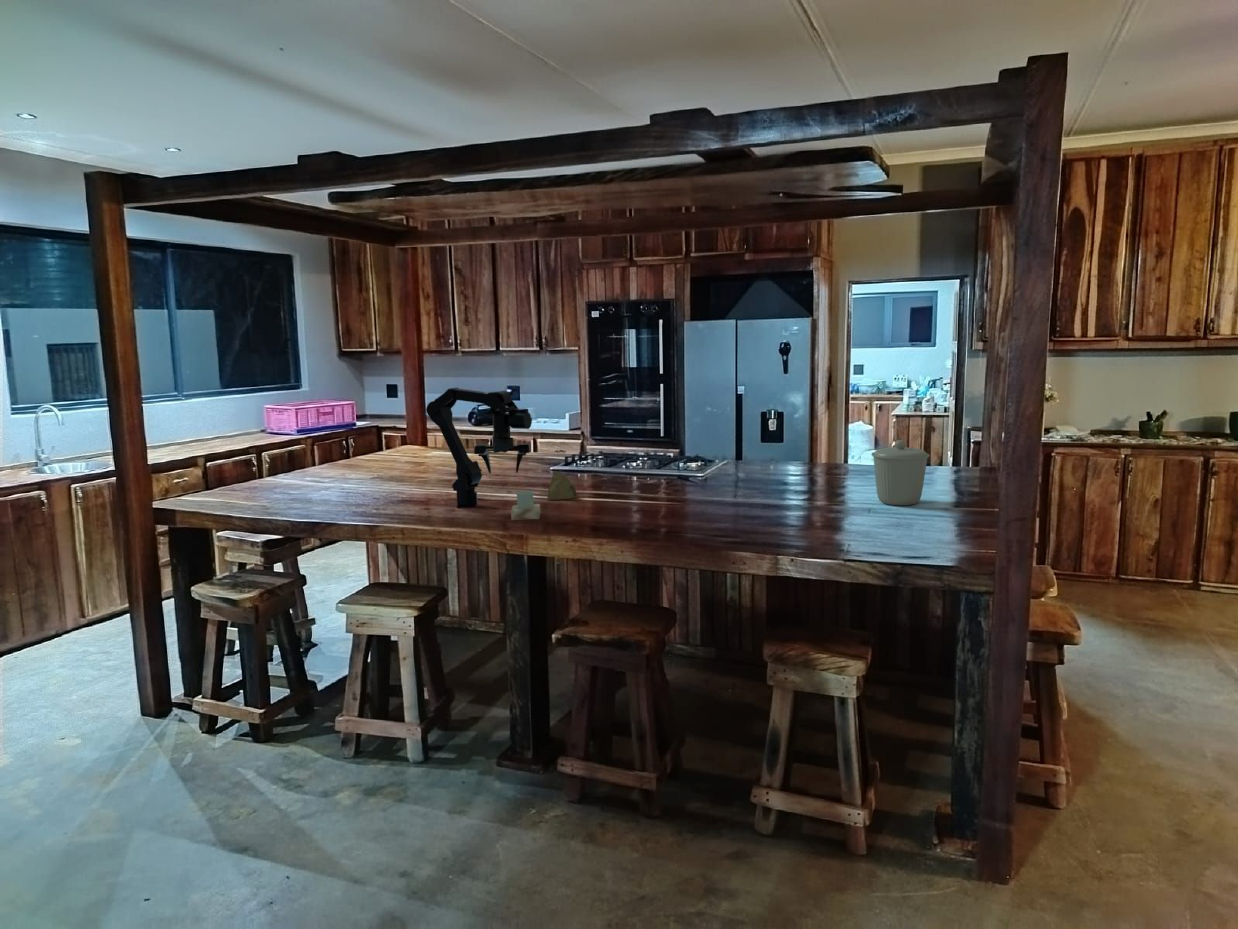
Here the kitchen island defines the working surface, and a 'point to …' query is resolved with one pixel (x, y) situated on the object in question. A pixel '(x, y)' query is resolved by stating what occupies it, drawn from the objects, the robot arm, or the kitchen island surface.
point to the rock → (561, 488)
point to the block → (525, 500)
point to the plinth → (525, 513)
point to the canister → (899, 474)
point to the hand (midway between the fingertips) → (503, 473)
